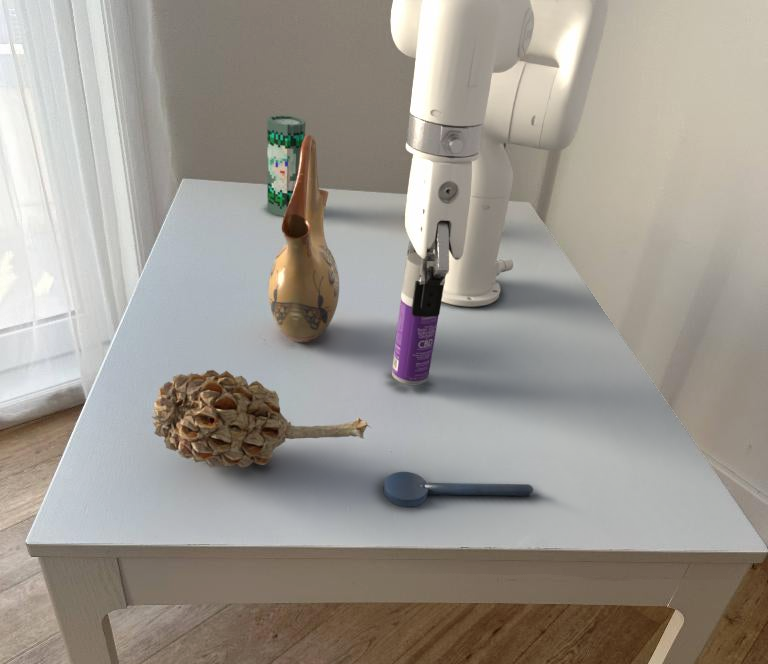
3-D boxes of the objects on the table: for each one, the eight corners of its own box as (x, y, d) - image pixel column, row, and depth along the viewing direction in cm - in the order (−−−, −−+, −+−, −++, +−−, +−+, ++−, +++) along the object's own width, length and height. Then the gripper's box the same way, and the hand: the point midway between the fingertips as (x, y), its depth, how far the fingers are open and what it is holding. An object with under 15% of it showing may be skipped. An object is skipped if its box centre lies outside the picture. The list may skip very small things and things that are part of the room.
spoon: (385, 506, 74) (386, 497, 74) (381, 478, 78) (382, 469, 77) (536, 508, 77) (539, 499, 76) (526, 480, 80) (528, 472, 79)
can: (264, 213, 132) (263, 121, 122) (273, 202, 136) (274, 113, 126) (297, 218, 131) (299, 127, 122) (305, 207, 136) (308, 118, 126)
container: (416, 389, 90) (434, 271, 80) (384, 375, 92) (398, 259, 82) (435, 374, 93) (454, 259, 83) (403, 361, 95) (419, 247, 85)
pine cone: (152, 489, 73) (141, 405, 66) (161, 432, 80) (151, 351, 73) (371, 487, 77) (381, 407, 70) (361, 433, 84) (369, 356, 77)
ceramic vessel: (326, 369, 93) (338, 161, 77) (256, 359, 93) (253, 149, 77) (343, 312, 106) (357, 122, 89) (282, 303, 106) (284, 112, 89)
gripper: (502, 165, 69) (468, 340, 81) (459, 116, 81) (435, 274, 93) (425, 160, 67) (402, 339, 79) (393, 112, 80) (377, 272, 92)
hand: (420, 302), depth 86 cm, fingers closed on container, 4 cm apart
